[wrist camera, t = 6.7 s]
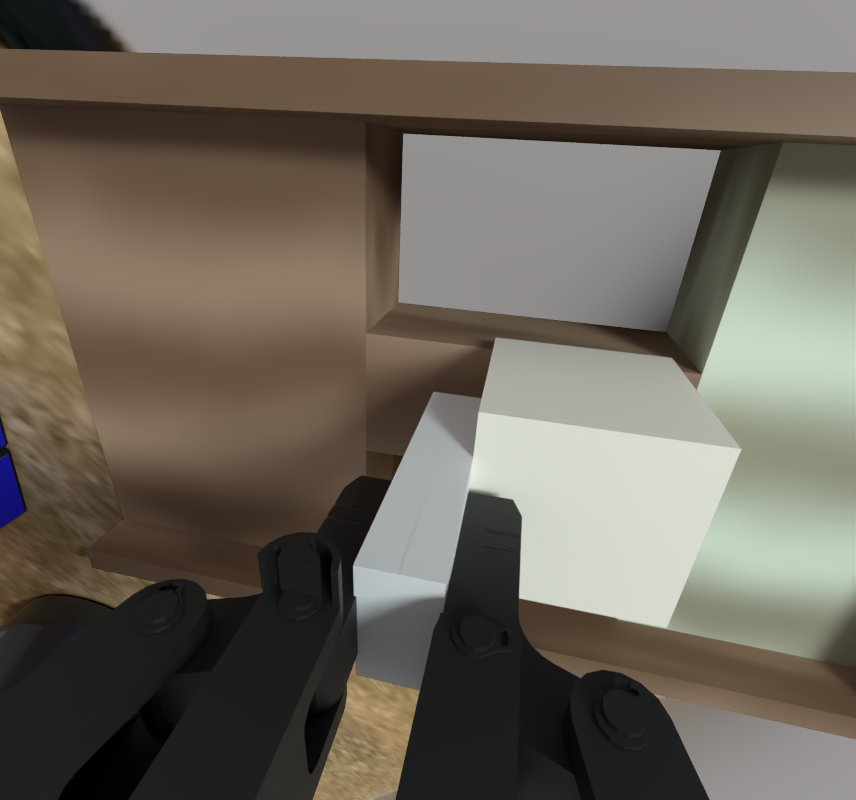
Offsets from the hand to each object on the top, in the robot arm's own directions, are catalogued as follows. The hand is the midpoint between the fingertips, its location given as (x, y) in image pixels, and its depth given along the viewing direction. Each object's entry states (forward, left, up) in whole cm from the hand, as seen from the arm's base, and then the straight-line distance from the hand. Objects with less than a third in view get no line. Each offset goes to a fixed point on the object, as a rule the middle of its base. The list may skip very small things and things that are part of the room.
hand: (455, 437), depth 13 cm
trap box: (0, -1, -6) cm, 6 cm away
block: (0, -3, -2) cm, 4 cm away
